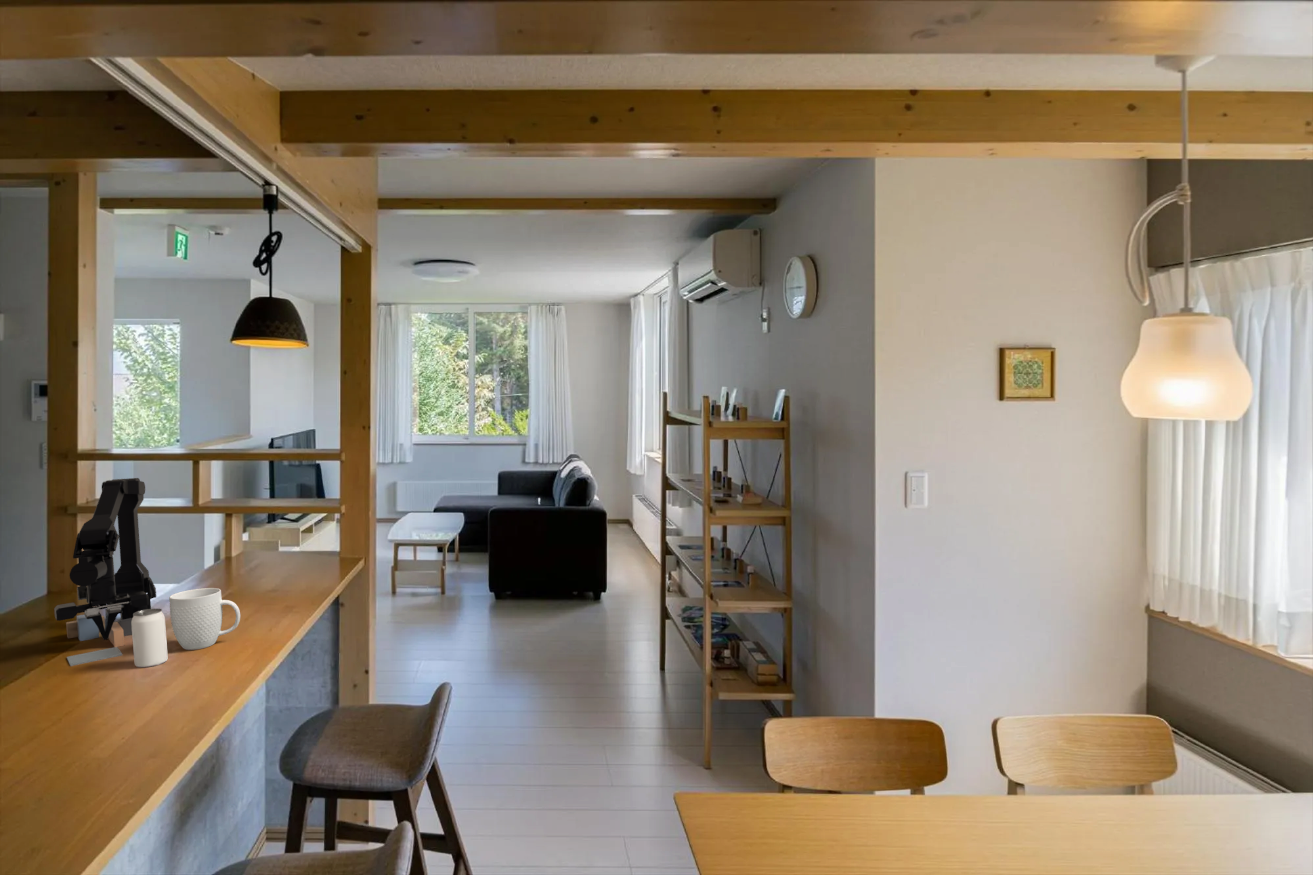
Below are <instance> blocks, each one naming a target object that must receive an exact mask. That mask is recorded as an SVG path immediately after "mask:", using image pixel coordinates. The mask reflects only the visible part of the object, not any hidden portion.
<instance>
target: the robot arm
mask: <svg viewBox="0 0 1313 875" xmlns="http://www.w3.org/2000/svg"><path fill="white" fill-rule="evenodd" d="M145 493H146V484H145V482H144V481H142V480H140V478H139V477H133V478H115V479H111V480H110V479H109V480H105V481H103V482H102V483H101V492H100V496H99V499H98V501H97V504H96V507H95V510H94V512H93V515H92V517H91V519H89V520H87V521H86V522H84V523H83V524H82V527H81V528H80V530H79V532H78V533H77V535H76V538H75V544H74V549H73V554H72V558H73V559H78V563H77V564H74V566H72V567H71V569H70V571H69V579H70V581H71V583H73V584H74V585H76V586H77V587H76V590H77V591H76V592H77V593H76V594H77V600H78V601H82V600H86V603H85V604H79V605H77V604H76V603H75V602H68V603H62V604H57V605H56V606H55V607H54V617H55V620H56V621H65V620H69V619H70V620H72V619H74V618H75V617H77V616H78V614H81V613H82V614H83V613H84V614H83V615H85V617H86V619H92V620H93V621H94V622H95V624H96V625H97V627H98V629H99V631H100V633H99V634H100V636H101V638H102V639H103V641H107V640H109V638H108V637H109V634H110V631H111V628H112V625H113V623H114V621H116V619H117V617H118V615H119V616H120V617H119V618H120V620H123V619H129V618H133V613H135V612H138V611H142V610H147V609H152V607H151V606H152V604H151V600H152V599H155V598H157V590H156V589H157V588H156V586H155V584H154V582H153V580H152V578H151V577H150V572H149V569H148V568H147V567H146V566H145V565H144V564H143V562H142V558H141V557H142V556H141V543H140V532H139V530H140V529H139V527H140V526H139V514H138V510H139V508H140V506H141V505H142V503H143V501H144V499H145V498H144V495H145ZM116 520H117V528H118V532H117V529H116V526H115V523H116ZM118 543H119V557H120V558H119V559H120V565H119V568H118V569H117V571H116V572H115V564H114V557H113V556H114V555H115V554H114V552H116V550H117V546H118ZM103 609H104V610H105V617H104V618H105V629H104V625H103V620H102V616H103V615H102V614H101V613H100V611H101V610H103Z"/></svg>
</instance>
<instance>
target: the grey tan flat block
mask: <svg viewBox="0 0 1313 875" xmlns="http://www.w3.org/2000/svg"><path fill="white" fill-rule="evenodd" d="M131 621H132V618H129V619H123V620H121V619H119V620H115V621H114V623H113V625H112V628H111V631H110V634H109V637H108V640H109V641H110V643H111V644H112V645H113V647H118V648H119V647H124V646H125V637H127V636H132V624H131Z"/></svg>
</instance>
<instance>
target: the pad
mask: <svg viewBox="0 0 1313 875" xmlns="http://www.w3.org/2000/svg"><path fill="white" fill-rule="evenodd" d="M121 656H123V653H122V652H121V650H120V649H119V647H114V646H113V647H109V648H105V649H99V650H94V651H89V652H84V653H79V654H74V655H70V656H66V660H67V662H68V664H69V666H70V667H73V666H78V665H82V664H88V663H92V662H96V661H97V662H98V661H102V660H106V659H112V658H116V657H121Z"/></svg>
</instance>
